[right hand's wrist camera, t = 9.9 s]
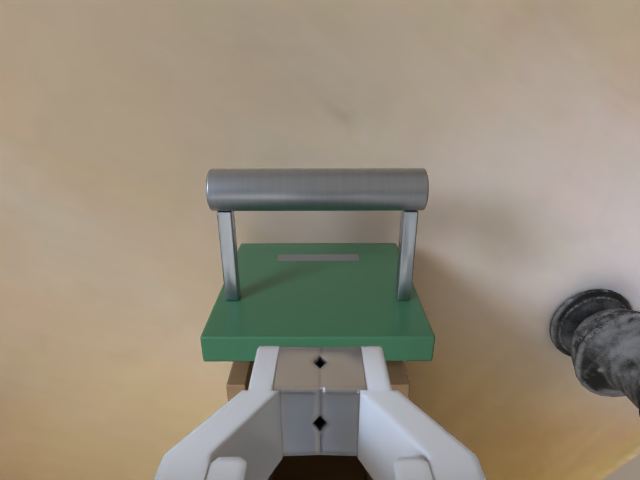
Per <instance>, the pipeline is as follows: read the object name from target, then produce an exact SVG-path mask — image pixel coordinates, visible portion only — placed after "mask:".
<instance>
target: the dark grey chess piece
mask: <svg viewBox="0 0 640 480" xmlns="http://www.w3.org/2000/svg"><path fill="white" fill-rule="evenodd" d="M550 335H551V339H552V342H553V343H554V345H555V346H556V348H557V349H559V350H560V351H561V352H562V353H564V354H566V355H568V356H571V357H572V361H573V365H574V369H575V374H576V377H577V378H578V380H579V381H580V383H581V384H582V385H583V386H584V387H585V388H586V389H588V390H589V391H590V392H593V393H596V394H598V395H601V396H609V397H619V396H627V397H628V398H629V399H630V400H631V401H632V403H633V404H634V405H635V406H636V407H637V408H638V409H639V415H640V312H638V311H633V310H631V307H630V305H629V303H628V301H627V300H626V299H625V298H623V297H622V296H621V295H620V294H618V293H616V292H613V291H611V290H604V289H595V290H588V291H585V292H582V293H579V294H577V295H575V296H573V297H572V298H570V299H568V300H567V301H566V302H565V303H564V304H563V305H562V306H560V308H559V309H558V310H557V312H556V313H555V315H554V317H553V319H552V322H551V326H550Z"/></svg>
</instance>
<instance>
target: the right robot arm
mask: <svg viewBox="0 0 640 480" xmlns="http://www.w3.org/2000/svg"><path fill="white" fill-rule="evenodd" d="M301 455H338V456H358V459H359V461H360V462H361V463H362V465H363V466H364V468H365V469H366V470H367V472H368V473H369V474H370V476H371V477H372V479H373V480H486V477H485V475H484V472H483V470H482V467H481V465H480V463H479V460H478V458H477V455H475V454H474V453H473V452H472V451H471V450H469V449H468V448H467V447H466V446H465V445H463V444H462V443H461V442H460V441H458V440H457V439H456V438H455V437H454V436H452V435H451V434H450V433H449V432H448V431H446V430H445V429H444V428H443V427H442V426H440V425H439V424H438V423H437V422H436V421H434V420H433V419H432V418H431V417H430V416H428V415H427V414H426V413H425V412H424V411H422V410H421V409H420V408H419V407H418V406H416V405H415V404H414V403H413V402H411V401H410V400H409V399H408V398H407V397H405V396H404V395H403V394H402V393H401V392H399V391H398V390H392V388H391V384H390V379H389V375H388V371H387V366H386V362H385V358H384V353H383V349H382V347H381V346H360V347H305V346H280V347H279V346H259V348H258V349H257V353H256V357H255V362H254V366H253V370H252V375H251V379H250V384H249V388H248V390H242V391H241V392H239V393H238V394H237V395H236V396H235V397H233V398H232V399H231V400H230V401H228V402H227V403H226V404H225V405H224V406H222V407H221V408H220V409H219V410H218V411H216V412H215V413H214V414H213V415H212V416H210V417H209V418H208V419H207V420H205V421H204V422H203V423H202V424H201V425H199V426H198V427H197V428H196V429H195V430H193V431H192V432H191V433H190V434H189V435H187V436H186V437H185V438H184V439H182V440H181V441H180V442H179V443H178V444H176V445H175V446H174V447H173V448H172V449H170V450H169V451H168V452H167V453H166V454H164V456H163V458H162V461H161V463H160V465H159V468H158V470H157V473H156V475H155V477H154V480H267V479H268V478H269V476H270V475H271V474H272V472H273V471H274V469H275V468H276V467H277V465H278V464H279V462H280V461H281V460H282V456H301Z"/></svg>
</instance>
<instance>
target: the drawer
mask: <svg viewBox="0 0 640 480" xmlns="http://www.w3.org/2000/svg"><path fill="white" fill-rule="evenodd" d="M428 193H429V182H428V175H427V172H426V170H425V169H211V170H209V172H208V175H207V180H206V195H207V201H208V205H209V208H210V209H211V210H212V211H218V212H217V219H218V229H219V239H220V248H221V258H222V268H223V278H224V284H223V287H222V289H221V291H220V293H219V296H218V298H217V300H216V303H215V305H214V307H213V310H212V312H211V314H210V316H209V319H208V321H207V323H206V326H205V328H204V330H203V333H202V335H201V337H200V338H201V346H202V353H203V360H204V361H233V364H232V368H231V371H230V375H229V378H228V382H227V385H226V386H227V395H228V401H230V400H231V399H232V398H233V397H235V396H236V395H237V394H238V393H239V392H241V391H242V390H248V388H249V384H250V379H251V375H252V370H253V366H254V362H255V357H256V353H257V349H258V348H259V346H279V347H280V346H305V347H360V346H381V347H382V349H383V353H384V358H385V362H386V366H387V371H388V375H389V379H390V384H391V388H392V390H398V391H399V392H401V393H402V394H403V395H404V396H405V397H407V398H408V397H409V386H410V385H409V381H408V377H407V374H406V370H405V367H404V363H403V361H431V360H432V358H433V350H434V341H435V336H434V333H433V331H432V329H431V326H430V324H429V321H428V319H427V317H426V314H425V312H424V310H423V307H422V305H421V302H420V300H419V298H418V295H417V293H416V290H415V288H414V286H413V283H412V276H413V265H414V254H415V243H416V232H417V221H418V211H417V210H424V209H425V207H426V204H427V201H428ZM361 210H401V222H400V236H399V249H398V248H397V245H396V244H395V243H323V244H241V245H240V248H239V250H238V252H237V242H236V230H235V218H234V211H361ZM267 480H373V479H372V477H371V476H370V474H369V473H368V472H367V470H366V469H365V468H364V466H363V465H362V463H361V462H360V461H359V459H358V456H338V455H301V456H282V460H281V461H280V462H279V464H278V465H277V467H276V468H275V469H274V471H273V472H272V474H271V475H270V476H269V478H268V479H267Z"/></svg>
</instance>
